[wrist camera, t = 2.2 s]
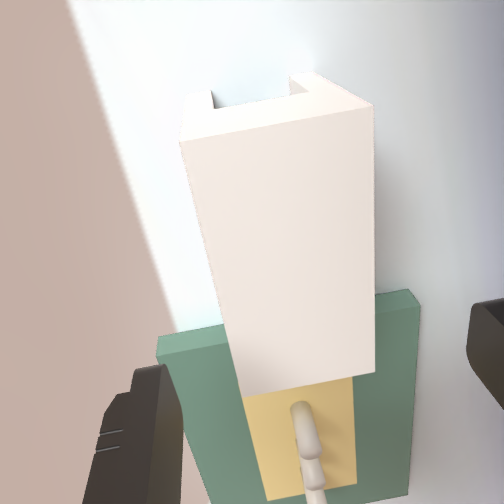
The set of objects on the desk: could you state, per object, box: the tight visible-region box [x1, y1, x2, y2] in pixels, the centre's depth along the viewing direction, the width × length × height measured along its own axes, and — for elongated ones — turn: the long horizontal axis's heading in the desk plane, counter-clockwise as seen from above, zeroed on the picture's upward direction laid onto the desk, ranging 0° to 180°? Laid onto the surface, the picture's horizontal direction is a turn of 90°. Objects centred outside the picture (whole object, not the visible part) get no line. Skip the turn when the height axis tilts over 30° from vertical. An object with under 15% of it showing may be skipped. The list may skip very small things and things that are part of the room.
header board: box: [156, 289, 421, 504], centre depth 26 cm, size 18×14×4 cm
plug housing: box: [179, 71, 375, 398], centre depth 17 cm, size 10×5×7 cm, turn 9°
